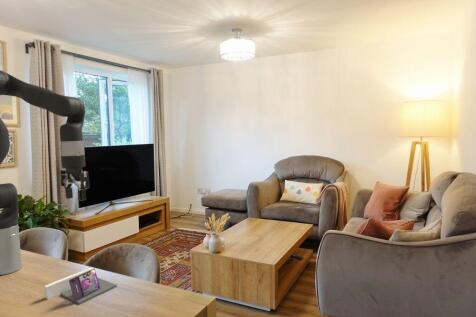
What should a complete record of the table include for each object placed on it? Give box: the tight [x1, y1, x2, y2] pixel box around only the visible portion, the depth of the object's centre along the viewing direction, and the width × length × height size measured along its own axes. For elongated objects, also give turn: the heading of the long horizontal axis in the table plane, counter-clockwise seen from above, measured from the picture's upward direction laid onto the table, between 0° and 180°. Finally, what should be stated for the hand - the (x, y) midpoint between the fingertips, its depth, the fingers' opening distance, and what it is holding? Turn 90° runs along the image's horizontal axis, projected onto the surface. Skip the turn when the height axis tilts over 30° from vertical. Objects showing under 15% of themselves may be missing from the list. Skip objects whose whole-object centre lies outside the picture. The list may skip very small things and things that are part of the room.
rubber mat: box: [59, 277, 118, 305], centre depth 107 cm, size 11×13×1 cm
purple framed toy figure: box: [69, 268, 100, 301], centre depth 104 cm, size 7×5×9 cm
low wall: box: [44, 266, 95, 300], centre depth 109 cm, size 2×16×4 cm, turn 146°
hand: (75, 199), depth 116 cm, fingers open, 8 cm apart
